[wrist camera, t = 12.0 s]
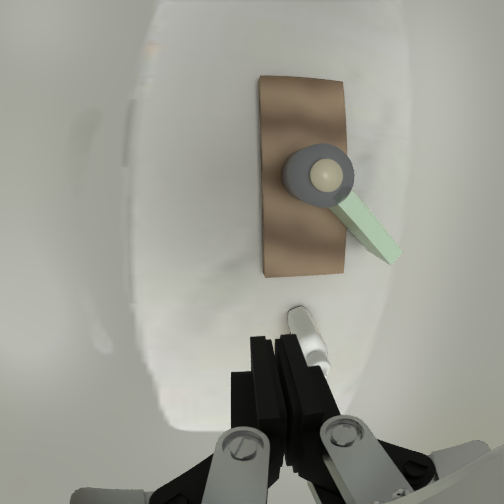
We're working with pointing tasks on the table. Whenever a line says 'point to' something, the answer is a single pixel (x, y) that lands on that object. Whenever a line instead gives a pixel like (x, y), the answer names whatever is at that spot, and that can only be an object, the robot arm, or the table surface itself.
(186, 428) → the table surface
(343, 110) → the post base
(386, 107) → the table surface
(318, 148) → the grey and green piece
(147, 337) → the table surface
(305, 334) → the eye dropper bottle
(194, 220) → the table surface
